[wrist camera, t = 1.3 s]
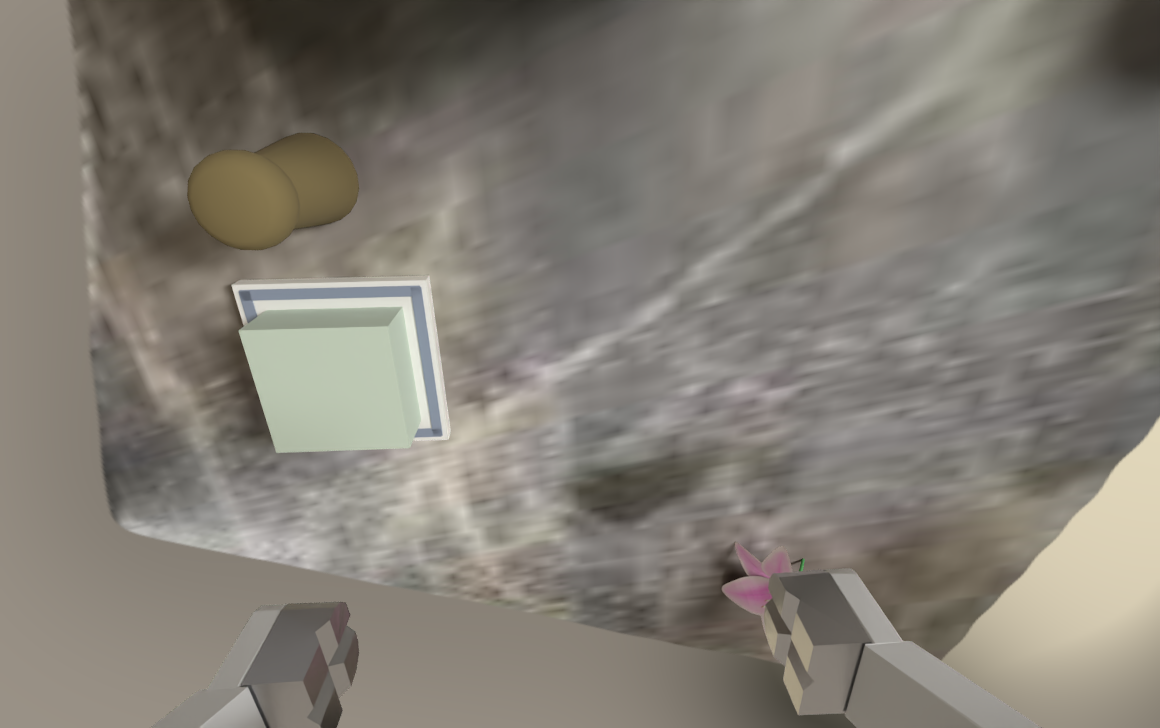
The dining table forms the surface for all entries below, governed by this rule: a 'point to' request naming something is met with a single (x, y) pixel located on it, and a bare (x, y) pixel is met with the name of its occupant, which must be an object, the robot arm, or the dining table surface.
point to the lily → (757, 579)
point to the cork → (272, 190)
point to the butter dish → (345, 361)
